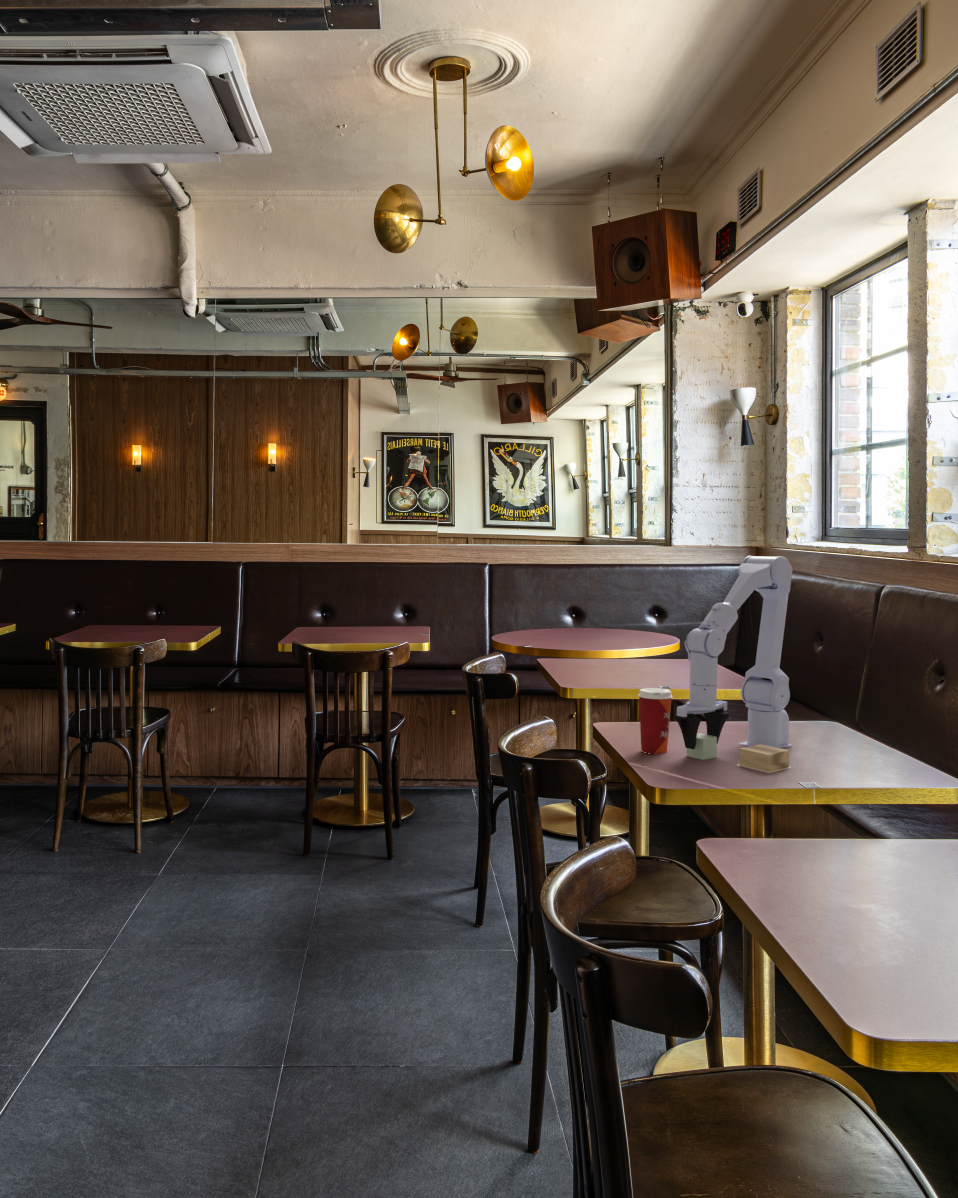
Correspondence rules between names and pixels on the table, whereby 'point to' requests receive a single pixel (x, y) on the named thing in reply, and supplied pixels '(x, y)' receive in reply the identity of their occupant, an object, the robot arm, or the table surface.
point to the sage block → (704, 747)
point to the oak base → (764, 757)
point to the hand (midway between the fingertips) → (701, 746)
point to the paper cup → (654, 719)
